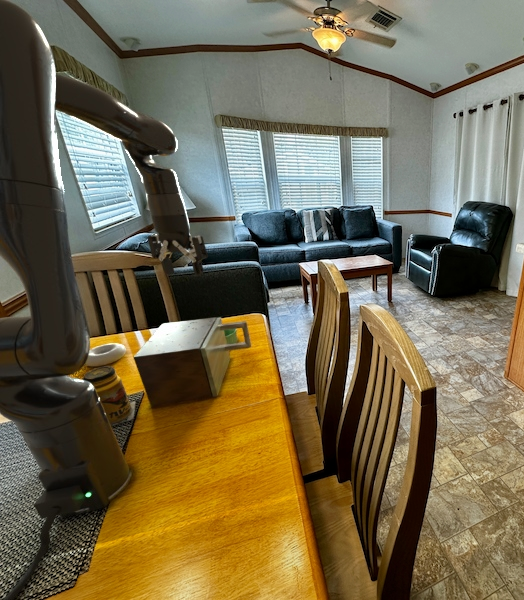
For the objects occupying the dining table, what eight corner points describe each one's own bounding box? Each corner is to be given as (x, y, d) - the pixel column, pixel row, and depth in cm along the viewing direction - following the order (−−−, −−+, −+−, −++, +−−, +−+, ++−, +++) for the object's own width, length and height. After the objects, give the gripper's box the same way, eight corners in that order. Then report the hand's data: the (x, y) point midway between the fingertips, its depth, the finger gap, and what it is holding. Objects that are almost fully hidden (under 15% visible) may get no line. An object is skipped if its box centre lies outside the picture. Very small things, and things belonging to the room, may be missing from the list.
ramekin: (220, 336, 111) (217, 324, 109) (244, 338, 110) (242, 326, 108) (201, 349, 102) (198, 337, 101) (228, 351, 101) (225, 339, 100)
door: (254, 355, 99) (246, 314, 94) (246, 391, 83) (236, 344, 78) (226, 359, 97) (216, 317, 92) (213, 397, 81) (200, 348, 76)
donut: (91, 373, 91) (133, 356, 99) (86, 362, 90) (129, 346, 98) (79, 362, 96) (119, 347, 104) (74, 352, 95) (116, 338, 103)
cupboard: (225, 360, 97) (215, 317, 92) (212, 397, 81) (198, 348, 76) (176, 367, 93) (162, 323, 88) (151, 408, 77) (133, 357, 72)
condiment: (133, 419, 74) (116, 374, 69) (83, 435, 70) (62, 388, 65) (136, 401, 80) (120, 359, 75) (90, 415, 75) (70, 371, 71)
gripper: (130, 213, 79) (149, 277, 85) (183, 214, 77) (199, 279, 83) (155, 210, 86) (171, 269, 92) (204, 210, 84) (218, 271, 90)
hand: (184, 274), depth 88 cm, fingers open, 8 cm apart
